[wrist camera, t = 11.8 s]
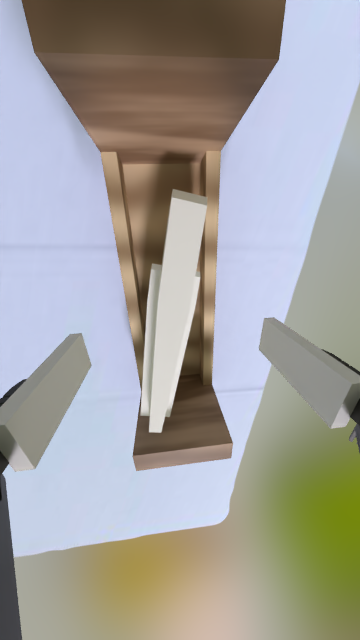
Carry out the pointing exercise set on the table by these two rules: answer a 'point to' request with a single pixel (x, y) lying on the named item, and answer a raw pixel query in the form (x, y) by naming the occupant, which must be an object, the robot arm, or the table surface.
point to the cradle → (162, 155)
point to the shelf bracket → (171, 306)
